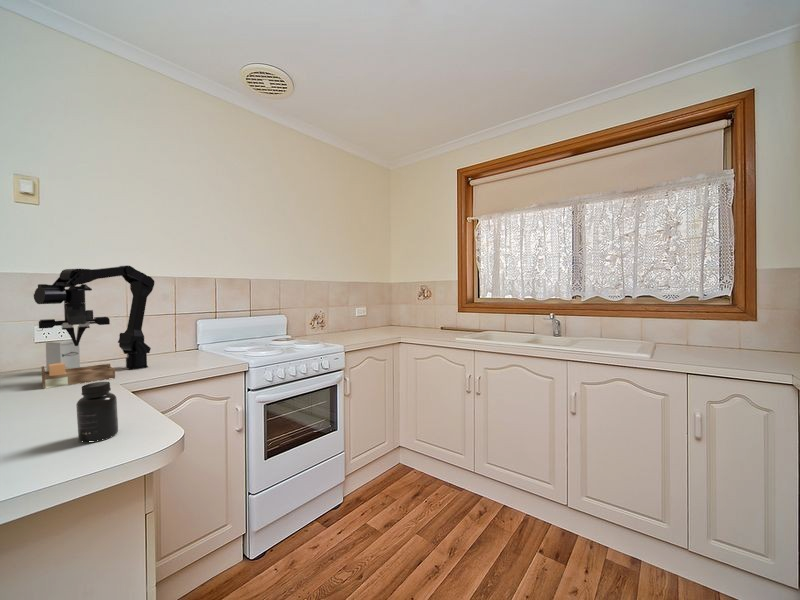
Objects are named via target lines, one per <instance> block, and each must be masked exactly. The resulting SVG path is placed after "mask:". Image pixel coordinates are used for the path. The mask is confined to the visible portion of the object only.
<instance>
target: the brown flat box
mask: <svg viewBox="0 0 800 600" xmlns="http://www.w3.org/2000/svg"><path fill="white" fill-rule="evenodd" d="M109 378H113V379H116V369H115V366H114V367H112V366H111V363H104V364H97V365H96V364H95V365H88V366H80V367H79V368H71V369H65V374H61V375H53V376H49V371H47V370H46V371H45V366H41V384H42V389H43V390H44V389H45V388H46V389H51V388H52V387H53V388H59V386H60V387H63V386H65V385H66V386H72V384H73V385H78V383H80V384H85V382H86V383H92V382H91V381H93V382H98V381H97V380H100V381H105V380H104V379H106V380H110V379H109ZM66 386H65V387H66Z"/></svg>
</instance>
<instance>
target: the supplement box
mask: <svg viewBox="0 0 800 600" xmlns="http://www.w3.org/2000/svg"><path fill="white" fill-rule="evenodd" d="M80 354H81V353H80V343H79V344H78V346H75V345H74V343H73V341H72V339H71V340H69V339H67V340H59V341H58V340H56V341H47V342H45V358H46V359H45V362H46V366H45V367H46V372H47V371H49V364H56V363H65V369H71V368H79V367H81V359H80V357H81V356H80Z"/></svg>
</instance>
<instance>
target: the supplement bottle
mask: <svg viewBox="0 0 800 600" xmlns="http://www.w3.org/2000/svg"><path fill="white" fill-rule="evenodd" d="M111 389H112V388H111V382H109V381H95V382H89V383H87V384H84V385H81V396H82V397H81V398H79V399H78V400H77V402H76V420H77V438H78V441H79V442H80V441H83V442H89V441H97V440H102V439H105V440H107V439H106V438H108V439H110V438H109V437H111V436H113V437H114V436H116V435H117V434H118V432H119V417H118V401H117V396H116V394H114V393H112V392H111V391H112V390H111ZM115 434H116V435H115ZM111 438H112V437H111ZM102 441H103V440H102Z"/></svg>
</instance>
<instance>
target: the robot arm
mask: <svg viewBox="0 0 800 600" xmlns="http://www.w3.org/2000/svg"><path fill="white" fill-rule="evenodd" d="M115 277H122V278H123V279H124V281H125V282H127V283H128V284H129V285H130V286H129V288H130V292H131V294H132V298H131V299H132V300H131V306H130V310H129V315H128V316H129V318H128V322H127V326H126V330H125V331H124V332H119V335H118V336H119V339H118V341H117V343H118V347H119V348H120V349H121V350H122V352H123V354H125V355H126V356H127V357H125V368H127V369H128V370H131V371H132V370H138V369H146V368H149V365H148V359H147V357H148V356H147V354H150V352H151V349H152V348H151V347H150V346H149V345H148V344H147V343H145V335H144V333H143V330H142V328H143V323H144V317H145V311H146V306H147V300H148V297H149V296H150V294H151V293H152V291H153V290H154V286H155V280H154V279H153V277H151V276H149V275H147V274H146V273H144V272H141V271H140V270H138V269H135V268H134V267H133V266H131V265H119V266H114V267H104V268H96V269H91V268H65V269H62V270H61V272H60V274H59V277H57V279H56V280H55V281H54V282H53V283H52V284H46V283H43V284H42V283H39V284H37V288H36V289H35V290H34V293H33V299H34V301H35V303H36V304H37V305H55V304H59V305H60V304H62V303H63V306H64V308H63V312H64V320H56V319H54V318H50V319H48V318H47V319H45V318H44V319H40V320H38V328H39V329H53V328H54V327H56V326H57V327H59V326H61V328H60V329H62V330H66V332H67V333H68V335H69V337H70V338H71V340H72V341H73V343H74V345H75V346H78V344H79V345H80V342H81V339H82V337H83V334H84V332H85V331H86V330H87V329H90V327H91V326H90V325H95V324H96V325H98V326H104V325H111V323H110V318H109V317H108V316H94V310H93V309H86V305H87V304H86V291H90V292H91V291H92V290H93V289H92V287H90V286H88V284H87V283H91V282H93V281H95V280H99V279H107V278H115ZM77 285H78V286H77ZM75 325H78V326H77V329H76V330H77V331H76V333H75V328H74V326H75Z"/></svg>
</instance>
